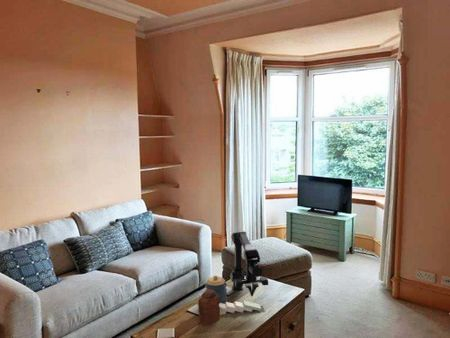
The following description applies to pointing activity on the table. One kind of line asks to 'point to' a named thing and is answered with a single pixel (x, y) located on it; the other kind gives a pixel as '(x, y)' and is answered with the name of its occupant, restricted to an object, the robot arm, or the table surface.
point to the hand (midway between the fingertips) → (251, 296)
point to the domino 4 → (251, 305)
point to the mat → (245, 311)
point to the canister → (217, 287)
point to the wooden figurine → (209, 307)
